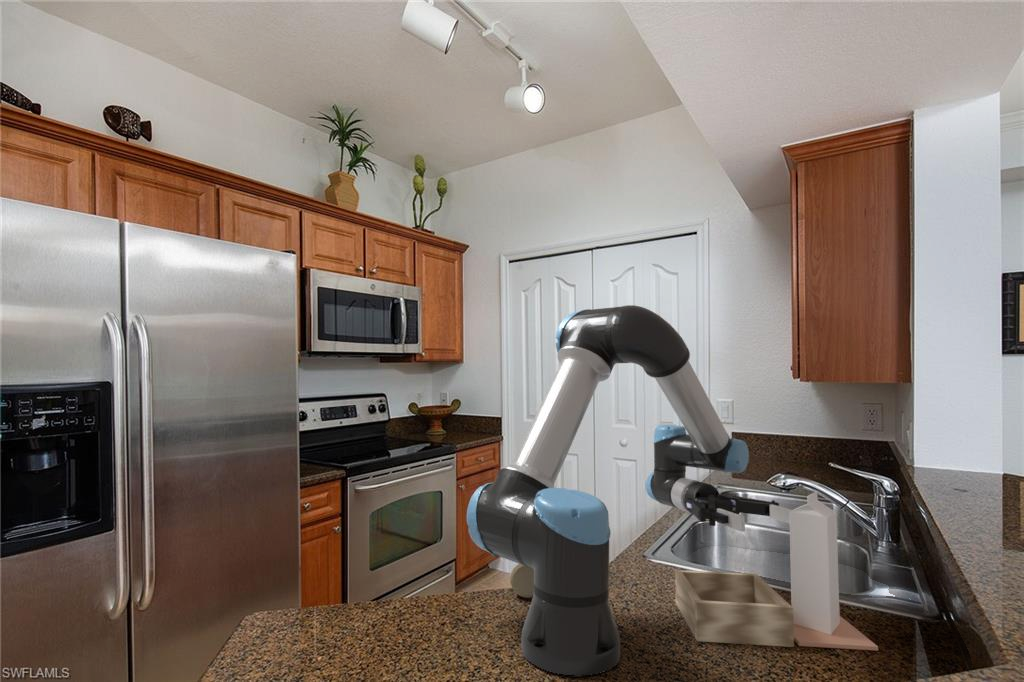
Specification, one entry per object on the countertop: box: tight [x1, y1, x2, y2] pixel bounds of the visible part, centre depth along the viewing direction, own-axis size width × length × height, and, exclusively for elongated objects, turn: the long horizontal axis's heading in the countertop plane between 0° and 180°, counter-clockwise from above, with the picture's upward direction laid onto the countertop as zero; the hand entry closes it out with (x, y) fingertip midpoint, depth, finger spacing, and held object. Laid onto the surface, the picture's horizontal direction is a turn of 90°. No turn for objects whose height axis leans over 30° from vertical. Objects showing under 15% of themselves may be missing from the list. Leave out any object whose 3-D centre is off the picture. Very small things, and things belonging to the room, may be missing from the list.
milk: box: [789, 491, 841, 635], centre depth 90 cm, size 6×6×22 cm
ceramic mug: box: [509, 561, 534, 599], centre depth 102 cm, size 11×8×8 cm
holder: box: [674, 569, 795, 648], centre depth 91 cm, size 15×15×6 cm
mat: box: [793, 615, 879, 651], centre depth 89 cm, size 12×14×1 cm
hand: (771, 521), depth 99 cm, fingers open, 13 cm apart
